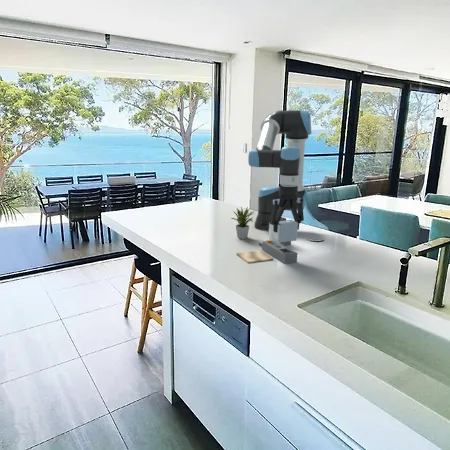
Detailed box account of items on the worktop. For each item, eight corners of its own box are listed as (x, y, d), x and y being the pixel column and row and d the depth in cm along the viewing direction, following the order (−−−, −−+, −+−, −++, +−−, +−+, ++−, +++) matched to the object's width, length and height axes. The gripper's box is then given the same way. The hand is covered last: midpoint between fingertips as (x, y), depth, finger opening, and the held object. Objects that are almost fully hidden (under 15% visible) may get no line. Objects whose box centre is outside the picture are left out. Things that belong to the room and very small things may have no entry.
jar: (265, 242, 186) (266, 219, 183) (271, 238, 193) (272, 216, 190) (282, 245, 181) (283, 221, 178) (288, 241, 188) (289, 218, 185)
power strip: (254, 245, 181) (254, 235, 180) (265, 243, 183) (265, 234, 182) (284, 263, 156) (285, 252, 155) (296, 262, 158) (297, 251, 157)
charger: (274, 243, 161) (275, 221, 158) (290, 242, 164) (292, 219, 161) (279, 246, 157) (281, 223, 154) (296, 244, 160) (297, 222, 157)
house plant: (254, 242, 185) (255, 210, 181) (227, 241, 187) (227, 208, 183) (258, 235, 198) (259, 205, 194) (232, 233, 201) (232, 203, 197)
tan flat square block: (260, 251, 172) (260, 250, 171) (273, 259, 161) (273, 258, 161) (236, 254, 167) (236, 253, 167) (247, 263, 156) (248, 261, 156)
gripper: (270, 187, 147) (268, 243, 153) (315, 185, 154) (311, 238, 160) (261, 185, 153) (259, 238, 159) (305, 182, 161) (301, 233, 167)
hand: (285, 238), depth 160 cm, fingers closed on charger, 8 cm apart
